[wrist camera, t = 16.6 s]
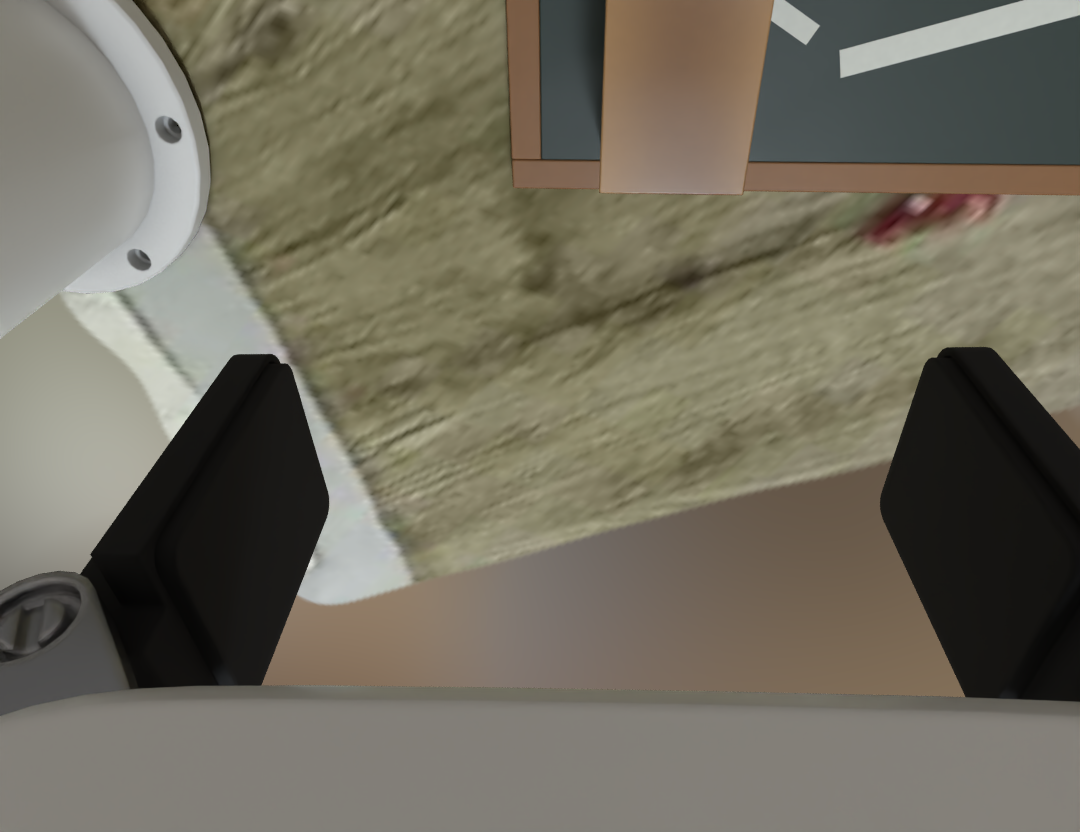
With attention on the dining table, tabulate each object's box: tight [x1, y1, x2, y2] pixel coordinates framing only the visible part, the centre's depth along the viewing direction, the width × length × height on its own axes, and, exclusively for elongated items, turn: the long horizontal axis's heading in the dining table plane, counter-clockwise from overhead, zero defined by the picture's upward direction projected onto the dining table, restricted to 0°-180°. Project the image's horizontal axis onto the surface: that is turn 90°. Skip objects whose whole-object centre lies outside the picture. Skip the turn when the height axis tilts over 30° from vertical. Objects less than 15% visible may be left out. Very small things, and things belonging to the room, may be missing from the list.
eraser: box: [599, 0, 774, 195], centre depth 20 cm, size 4×7×4 cm, turn 1°
